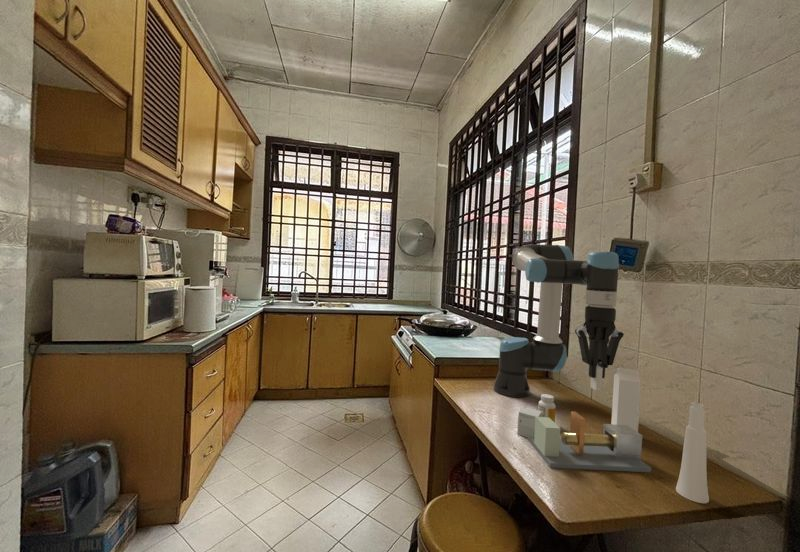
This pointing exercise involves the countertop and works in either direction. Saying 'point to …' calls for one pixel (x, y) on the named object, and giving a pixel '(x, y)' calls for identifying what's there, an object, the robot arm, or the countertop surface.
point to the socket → (547, 436)
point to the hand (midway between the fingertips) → (595, 389)
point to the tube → (584, 436)
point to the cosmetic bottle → (694, 458)
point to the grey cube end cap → (624, 442)
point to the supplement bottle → (547, 406)
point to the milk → (626, 398)
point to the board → (590, 459)
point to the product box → (527, 421)
